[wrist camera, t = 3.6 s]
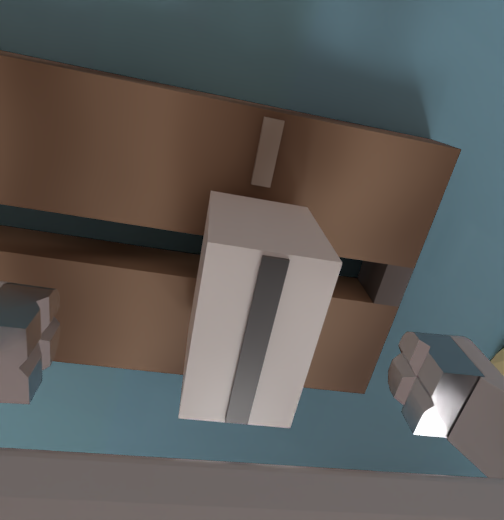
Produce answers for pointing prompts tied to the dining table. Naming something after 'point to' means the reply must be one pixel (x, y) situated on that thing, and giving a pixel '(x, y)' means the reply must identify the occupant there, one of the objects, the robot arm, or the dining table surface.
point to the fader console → (200, 207)
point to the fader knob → (255, 311)
